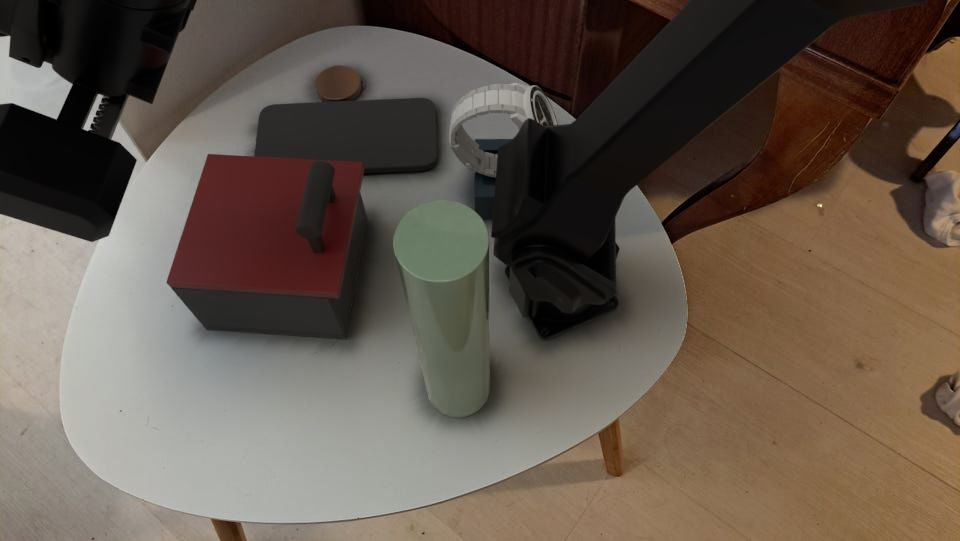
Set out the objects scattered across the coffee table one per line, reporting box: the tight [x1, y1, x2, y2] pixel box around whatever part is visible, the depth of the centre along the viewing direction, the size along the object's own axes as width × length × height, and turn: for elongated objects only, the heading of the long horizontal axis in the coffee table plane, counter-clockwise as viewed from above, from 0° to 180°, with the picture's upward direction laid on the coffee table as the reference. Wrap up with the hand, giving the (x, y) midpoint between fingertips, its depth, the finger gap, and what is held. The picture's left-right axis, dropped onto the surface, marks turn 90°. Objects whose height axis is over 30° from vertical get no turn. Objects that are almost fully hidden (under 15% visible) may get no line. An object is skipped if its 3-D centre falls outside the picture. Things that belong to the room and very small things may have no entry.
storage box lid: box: [166, 153, 365, 298], centre depth 47 cm, size 11×10×4 cm
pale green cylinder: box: [392, 199, 491, 418], centre depth 42 cm, size 4×4×20 cm
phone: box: [253, 97, 438, 174], centre depth 61 cm, size 7×1×15 cm
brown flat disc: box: [314, 65, 363, 102], centre depth 64 cm, size 4×4×1 cm
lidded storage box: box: [170, 192, 368, 340], centre depth 52 cm, size 10×10×7 cm
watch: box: [448, 82, 559, 220], centre depth 54 cm, size 6×8×11 cm
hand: (81, 140), depth 42 cm, fingers open, 9 cm apart
